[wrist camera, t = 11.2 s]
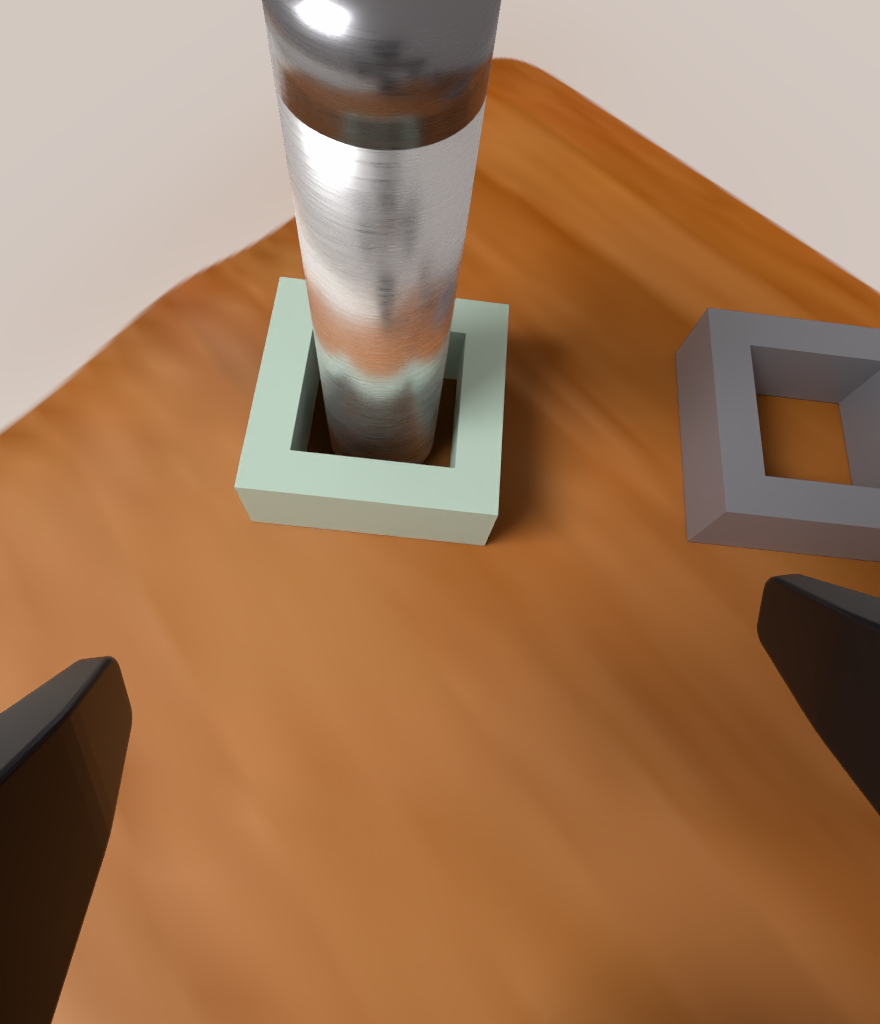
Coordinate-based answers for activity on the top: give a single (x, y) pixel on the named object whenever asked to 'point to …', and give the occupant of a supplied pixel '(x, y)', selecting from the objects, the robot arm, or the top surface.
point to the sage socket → (369, 482)
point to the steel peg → (381, 197)
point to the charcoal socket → (737, 441)
